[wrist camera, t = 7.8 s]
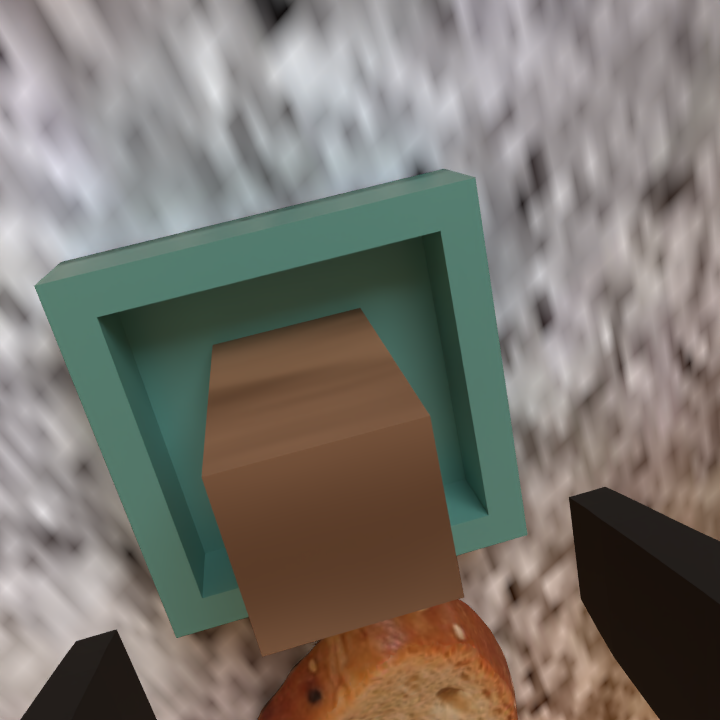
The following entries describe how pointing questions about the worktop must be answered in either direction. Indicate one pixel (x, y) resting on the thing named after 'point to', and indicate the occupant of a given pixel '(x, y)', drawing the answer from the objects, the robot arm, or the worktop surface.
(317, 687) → the bread slice
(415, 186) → the teal well
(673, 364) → the worktop surface
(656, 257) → the worktop surface
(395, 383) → the walnut post
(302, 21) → the worktop surface
